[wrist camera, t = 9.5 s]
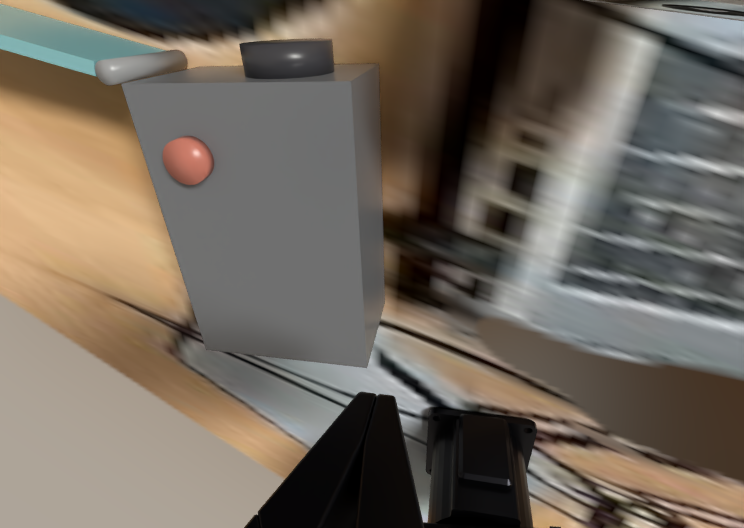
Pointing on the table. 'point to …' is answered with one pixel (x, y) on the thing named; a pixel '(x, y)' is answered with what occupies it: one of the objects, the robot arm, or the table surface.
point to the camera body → (272, 197)
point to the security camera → (689, 7)
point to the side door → (83, 48)
